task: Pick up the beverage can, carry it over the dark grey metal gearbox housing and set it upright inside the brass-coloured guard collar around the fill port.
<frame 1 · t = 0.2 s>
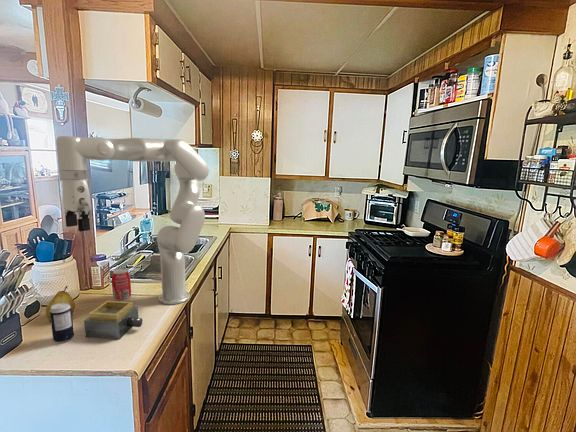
hand: (77, 228, 106), 36 cm above the countertop, tool pointing down, fingers open, 9 cm apart
beverage can: (64, 339, 107), on the countertop
fruit: (62, 318, 121), on the countertop
soda can: (122, 298, 138), on the countertop
gearbox housing: (113, 328, 114), on the countertop
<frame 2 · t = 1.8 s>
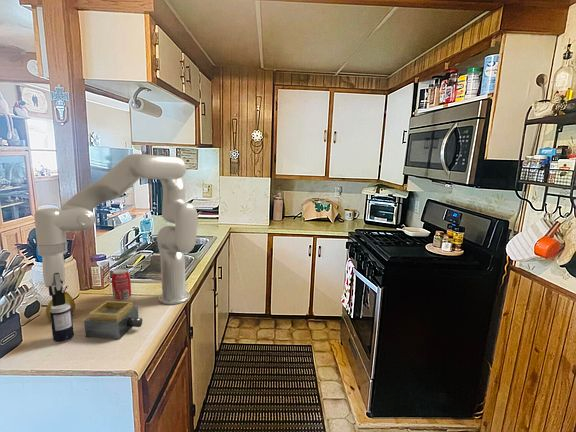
hand: (57, 299, 104), 14 cm above the countertop, tool pointing down, fingers open, 9 cm apart
nothing on the countertop moved.
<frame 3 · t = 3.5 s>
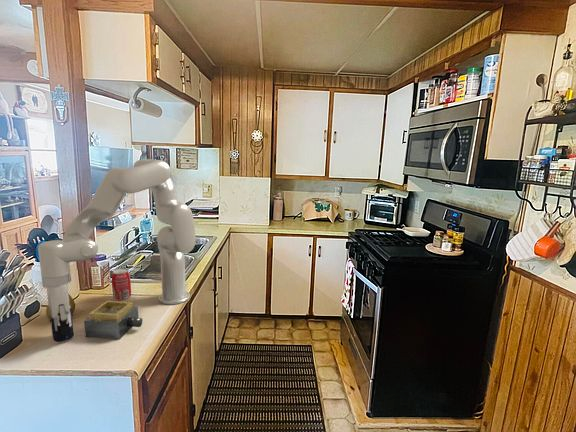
hand: (62, 330, 107), 3 cm above the countertop, tool pointing down, fingers closed on beverage can, 5 cm apart
beverage can: (64, 339, 107), on the countertop, touching gripper
everything else where it was.
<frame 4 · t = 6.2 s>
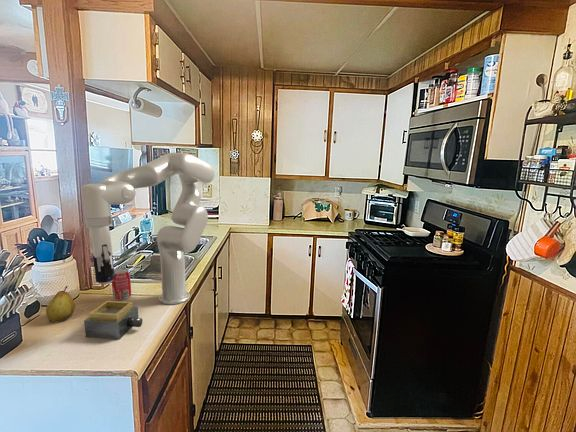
hand: (104, 272, 110), 21 cm above the countertop, tool pointing down, fingers closed on beverage can, 5 cm apart
beverage can: (105, 282, 111), point 18 cm above the countertop, touching gripper
everything else where it was.
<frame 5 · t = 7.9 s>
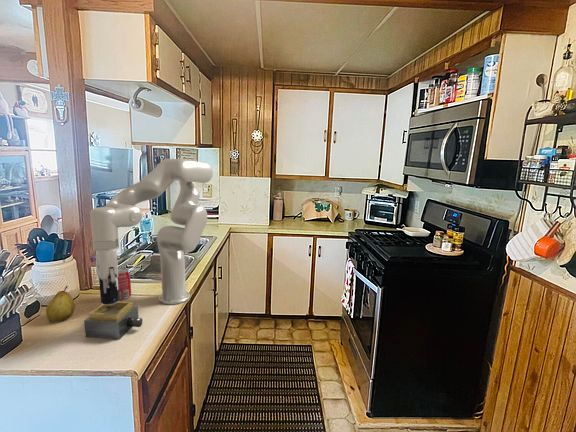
hand: (110, 294, 112), 13 cm above the countertop, tool pointing down, fingers closed on beverage can, 5 cm apart
beverage can: (110, 303, 112), point 10 cm above the countertop, touching gripper
everything else where it was.
when the fingers open (10 cm above the countertop, at t = 8.9 s): beverage can stays where it is, resting on gearbox housing.
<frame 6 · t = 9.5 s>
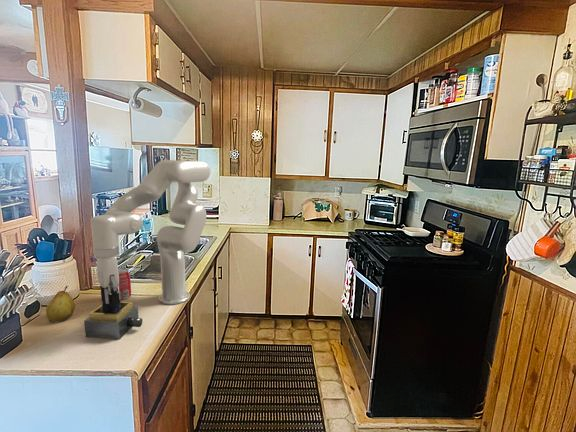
hand: (110, 299, 112), 11 cm above the countertop, tool pointing down, fingers open, 9 cm apart
beverage can: (112, 313, 113), point 6 cm above the countertop, touching gearbox housing
everything else where it was.
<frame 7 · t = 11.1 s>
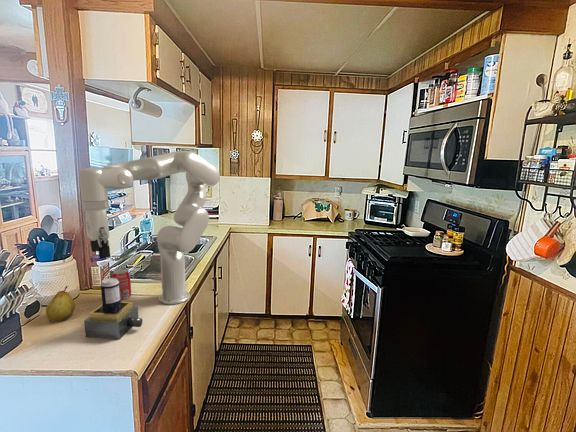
hand: (100, 254, 112), 26 cm above the countertop, tool pointing down, fingers open, 9 cm apart
nothing on the countertop moved.
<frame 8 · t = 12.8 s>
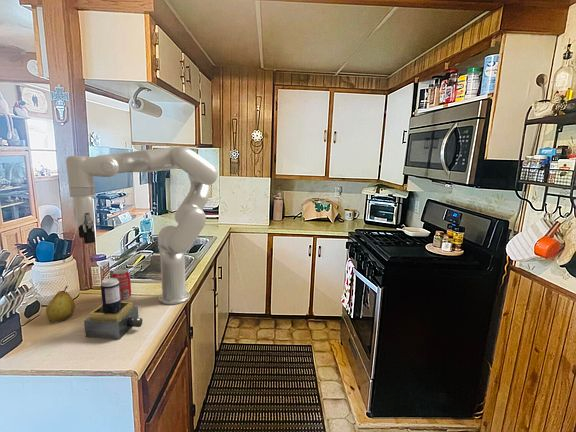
hand: (87, 240, 115), 30 cm above the countertop, tool pointing down, fingers open, 9 cm apart
nothing on the countertop moved.
at the end: beverage can 0.2 cm off-centre on the gearbox housing, point 5.8 cm above the gearbox housing's base; beverage can tilted 0°; the gripper is holding nothing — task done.
